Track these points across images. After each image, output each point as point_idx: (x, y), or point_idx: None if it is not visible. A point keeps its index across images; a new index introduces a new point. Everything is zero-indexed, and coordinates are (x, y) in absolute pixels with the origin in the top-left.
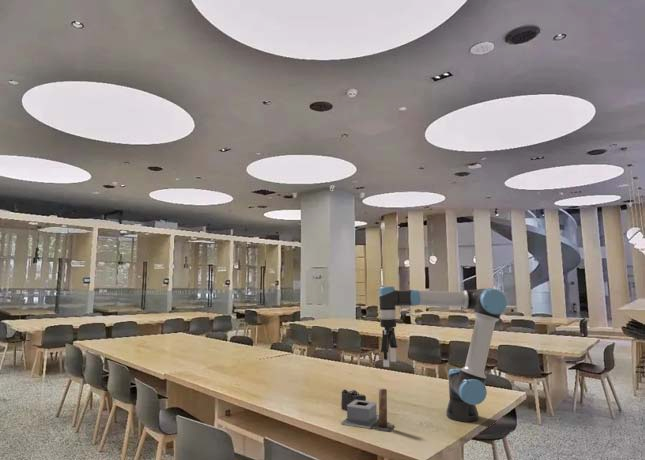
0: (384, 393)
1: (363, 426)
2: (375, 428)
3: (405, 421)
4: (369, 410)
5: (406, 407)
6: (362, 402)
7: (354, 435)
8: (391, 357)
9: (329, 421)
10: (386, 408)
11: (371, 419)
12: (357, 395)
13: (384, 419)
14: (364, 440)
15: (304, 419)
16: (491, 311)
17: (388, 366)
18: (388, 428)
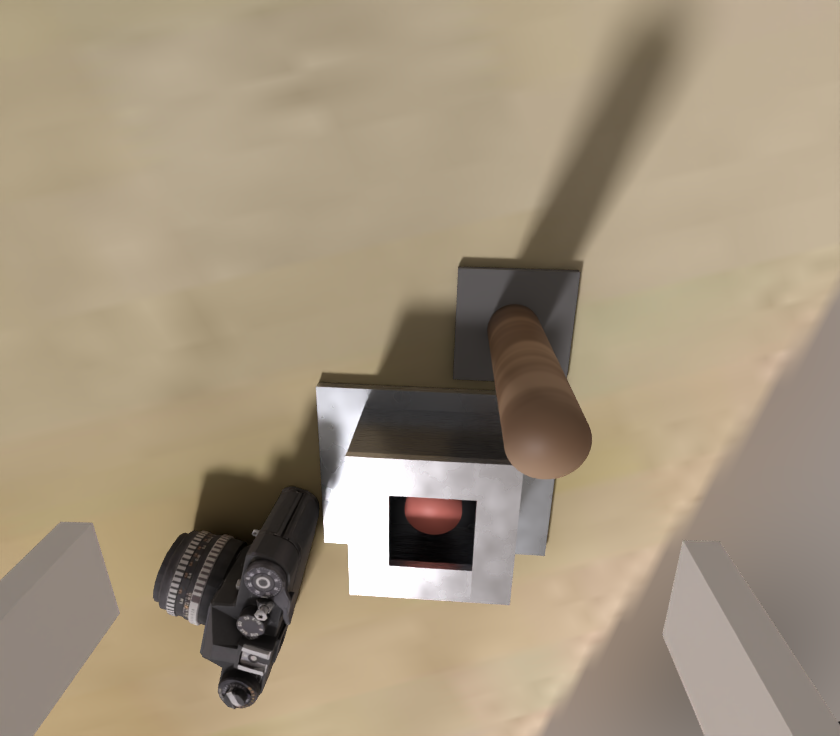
0: (577, 404)
1: None
2: (567, 362)
3: (321, 216)
4: None
5: (10, 278)
6: (388, 538)
7: (706, 442)
8: (59, 669)
9: (520, 610)
10: (533, 341)
11: (469, 419)
12: (280, 604)
13: (542, 329)
14: (777, 371)
15: (536, 710)
16: None
17: (719, 559)
18: (544, 286)
